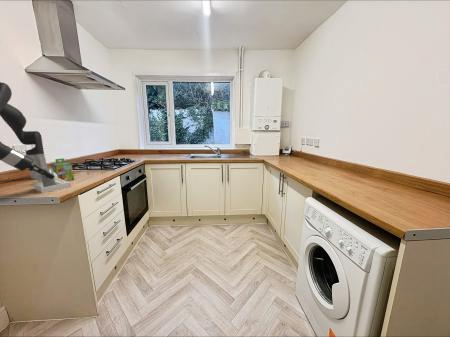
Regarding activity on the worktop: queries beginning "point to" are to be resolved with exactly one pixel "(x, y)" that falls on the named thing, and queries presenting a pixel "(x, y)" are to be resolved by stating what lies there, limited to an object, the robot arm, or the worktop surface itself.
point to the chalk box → (63, 170)
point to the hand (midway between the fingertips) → (50, 176)
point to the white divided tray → (59, 185)
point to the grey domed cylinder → (46, 180)
